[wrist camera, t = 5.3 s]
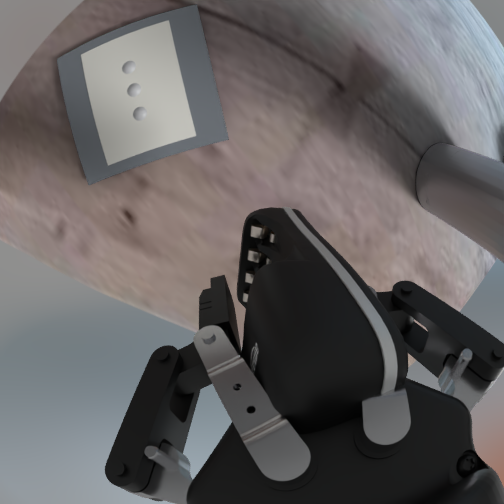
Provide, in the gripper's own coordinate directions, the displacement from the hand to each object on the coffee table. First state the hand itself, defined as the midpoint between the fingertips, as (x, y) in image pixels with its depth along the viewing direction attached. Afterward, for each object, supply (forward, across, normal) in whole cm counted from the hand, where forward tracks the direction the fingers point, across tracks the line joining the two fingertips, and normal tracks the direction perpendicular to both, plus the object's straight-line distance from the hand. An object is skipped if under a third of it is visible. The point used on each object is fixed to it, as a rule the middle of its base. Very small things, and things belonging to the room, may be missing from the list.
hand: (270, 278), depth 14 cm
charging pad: (+12, +6, -13) cm, 19 cm away
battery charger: (+3, 0, 0) cm, 3 cm away
